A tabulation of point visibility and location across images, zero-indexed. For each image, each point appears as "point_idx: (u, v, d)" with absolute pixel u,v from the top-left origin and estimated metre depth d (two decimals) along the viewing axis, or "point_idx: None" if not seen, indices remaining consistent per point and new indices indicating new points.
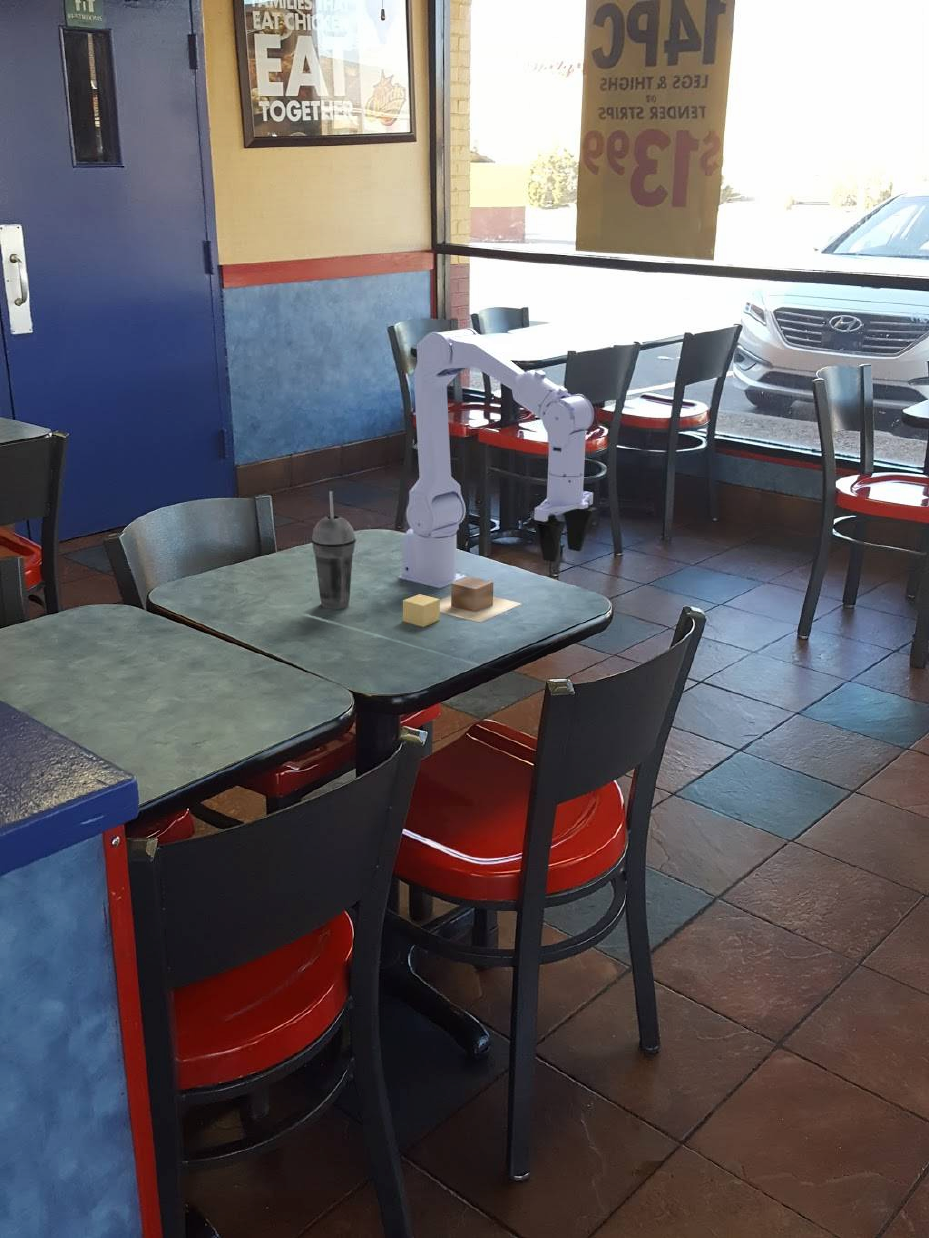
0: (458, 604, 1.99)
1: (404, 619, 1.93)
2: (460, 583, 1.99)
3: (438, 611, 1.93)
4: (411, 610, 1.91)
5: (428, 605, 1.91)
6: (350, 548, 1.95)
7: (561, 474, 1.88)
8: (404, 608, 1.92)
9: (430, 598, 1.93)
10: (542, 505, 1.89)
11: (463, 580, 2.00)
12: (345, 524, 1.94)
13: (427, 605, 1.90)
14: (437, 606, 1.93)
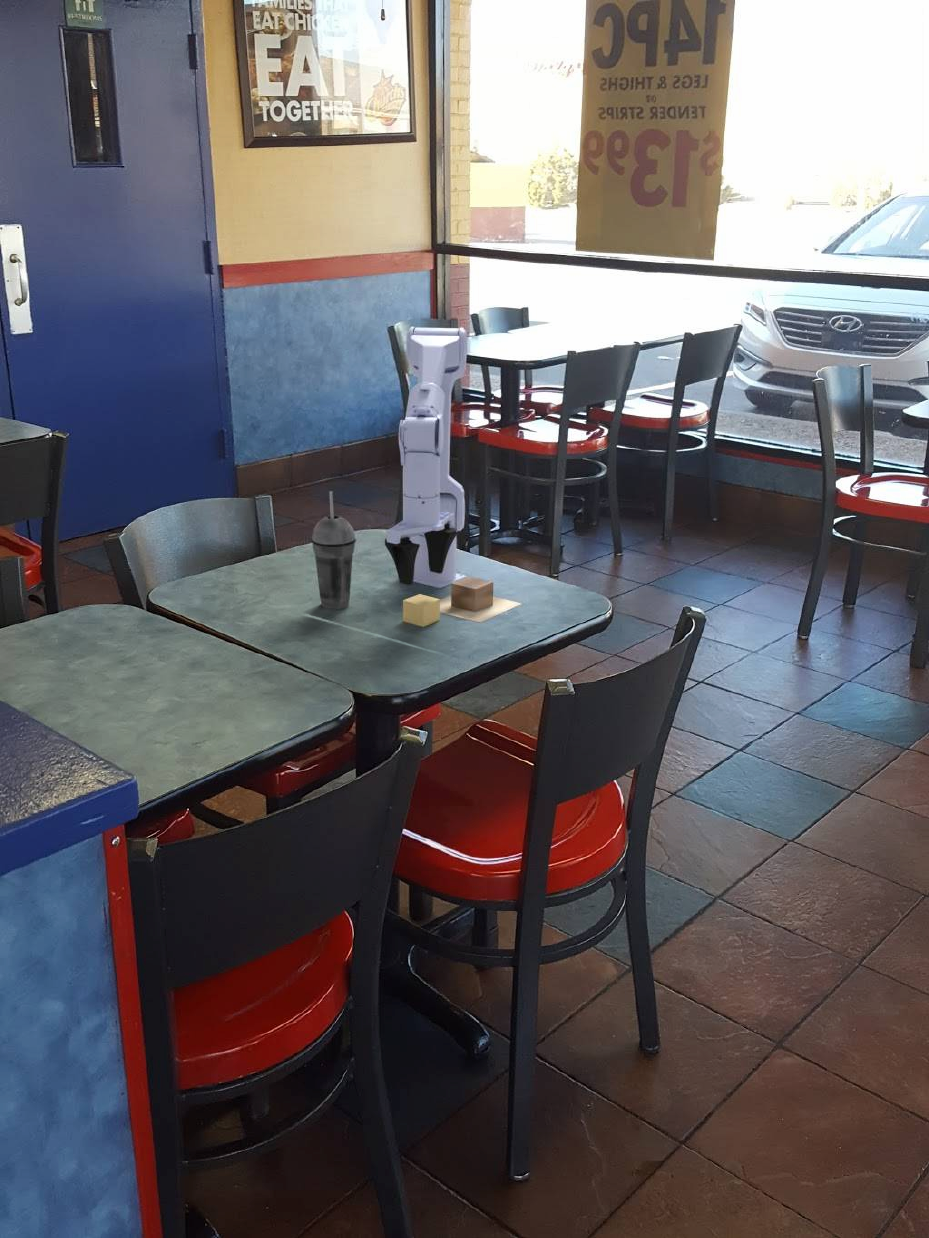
0: (458, 604, 1.99)
1: (404, 619, 1.93)
2: (460, 583, 1.99)
3: (438, 611, 1.93)
4: (411, 610, 1.91)
5: (428, 605, 1.91)
6: (350, 548, 1.95)
7: (403, 492, 1.86)
8: (404, 608, 1.92)
9: (430, 598, 1.93)
10: (396, 527, 1.85)
11: (463, 580, 2.00)
12: (345, 524, 1.94)
13: (427, 605, 1.90)
14: (437, 606, 1.93)
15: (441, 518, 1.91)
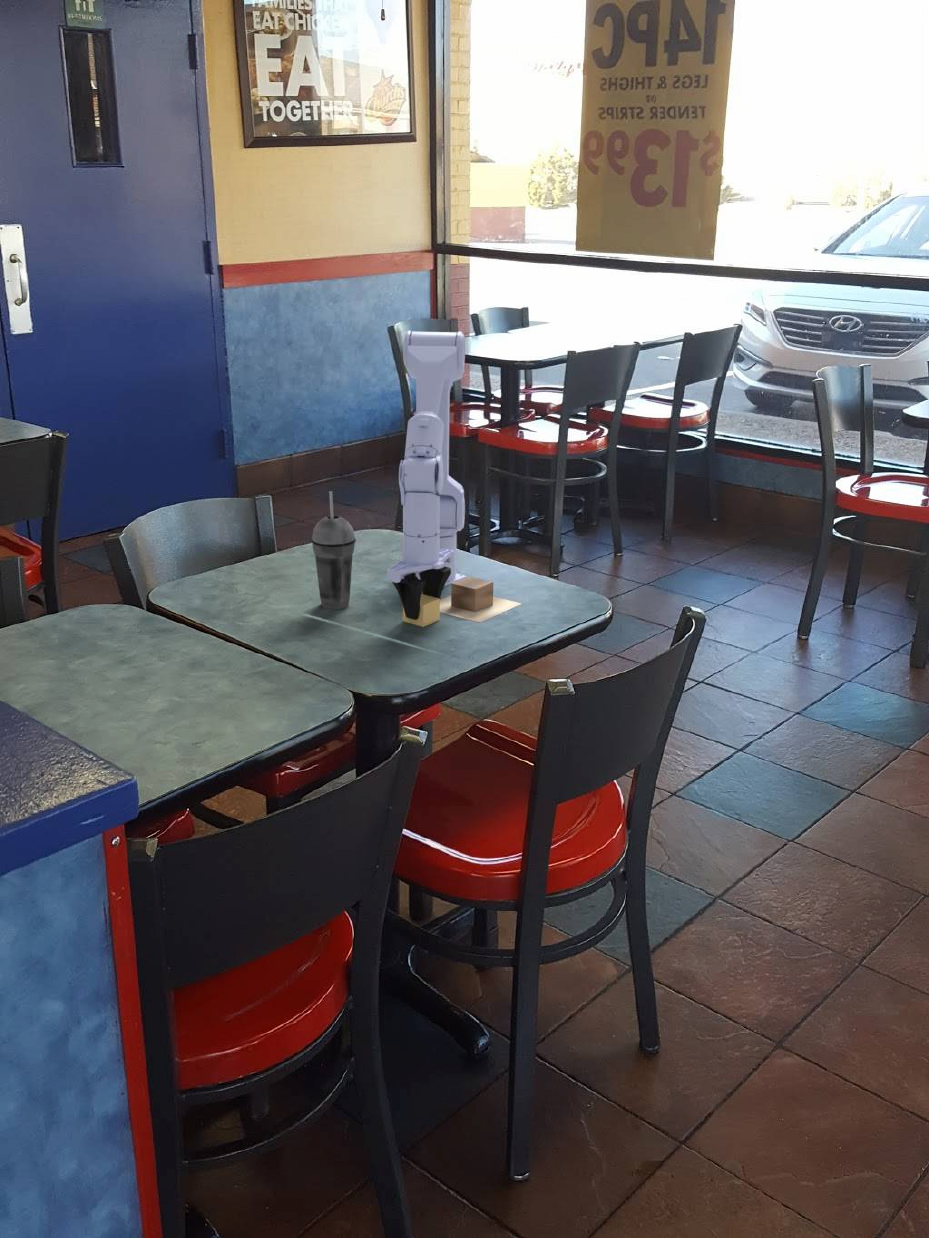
0: (458, 604, 1.99)
1: (404, 618, 1.93)
2: (460, 583, 1.99)
3: (438, 611, 1.93)
4: None
5: (428, 604, 1.91)
6: (350, 548, 1.95)
7: (403, 531, 1.88)
8: None
9: (430, 597, 1.93)
10: (396, 565, 1.87)
11: (463, 580, 2.00)
12: (345, 524, 1.94)
13: (427, 604, 1.90)
14: (437, 606, 1.93)
15: (441, 555, 1.93)
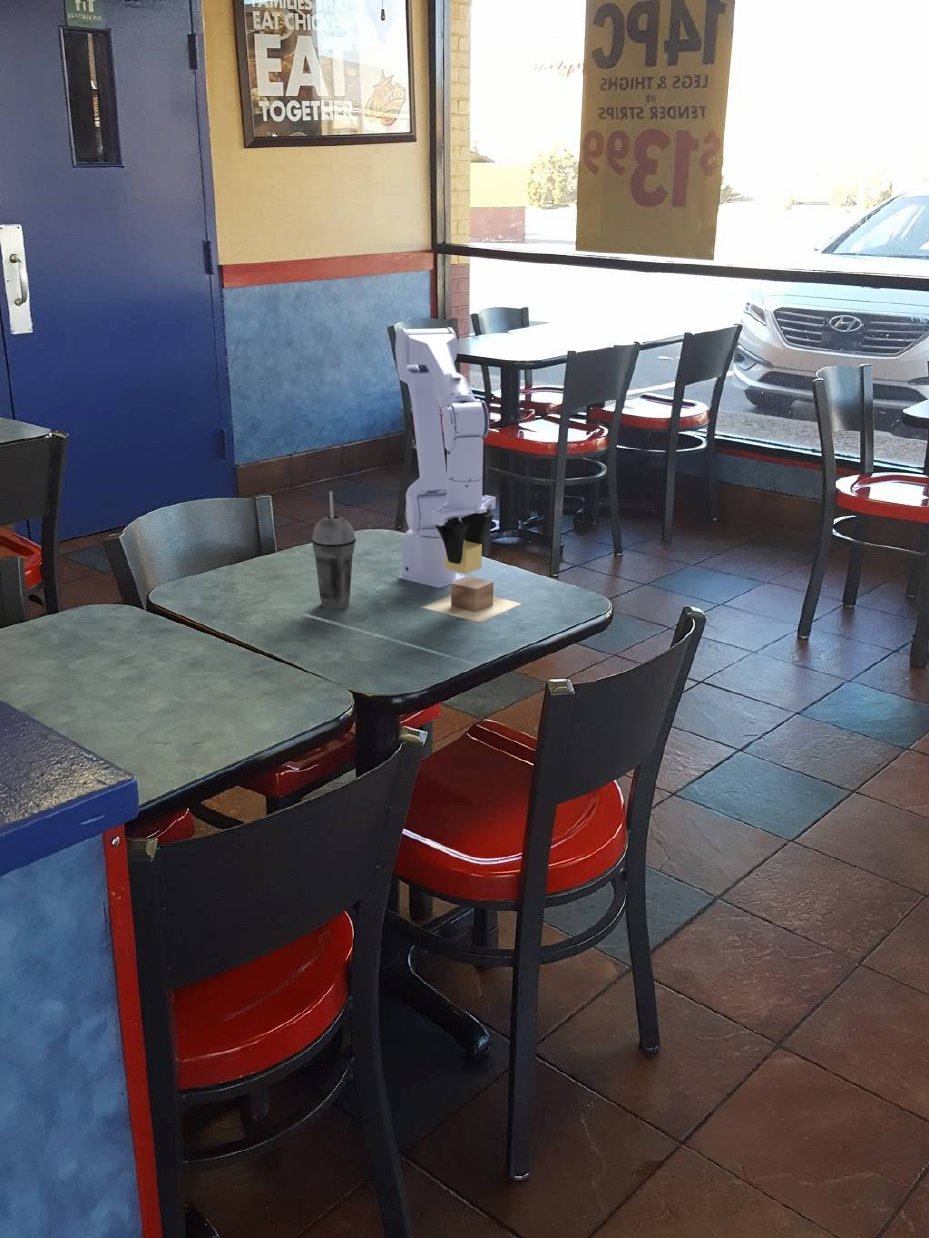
0: (458, 604, 1.99)
1: (447, 564, 1.96)
2: (460, 583, 1.99)
3: (480, 556, 1.97)
4: None
5: (470, 550, 1.94)
6: (350, 548, 1.95)
7: (450, 477, 1.90)
8: None
9: (472, 543, 1.96)
10: (440, 509, 1.91)
11: (463, 580, 2.00)
12: (345, 524, 1.94)
13: (470, 550, 1.94)
14: (479, 552, 1.96)
15: (483, 501, 1.97)
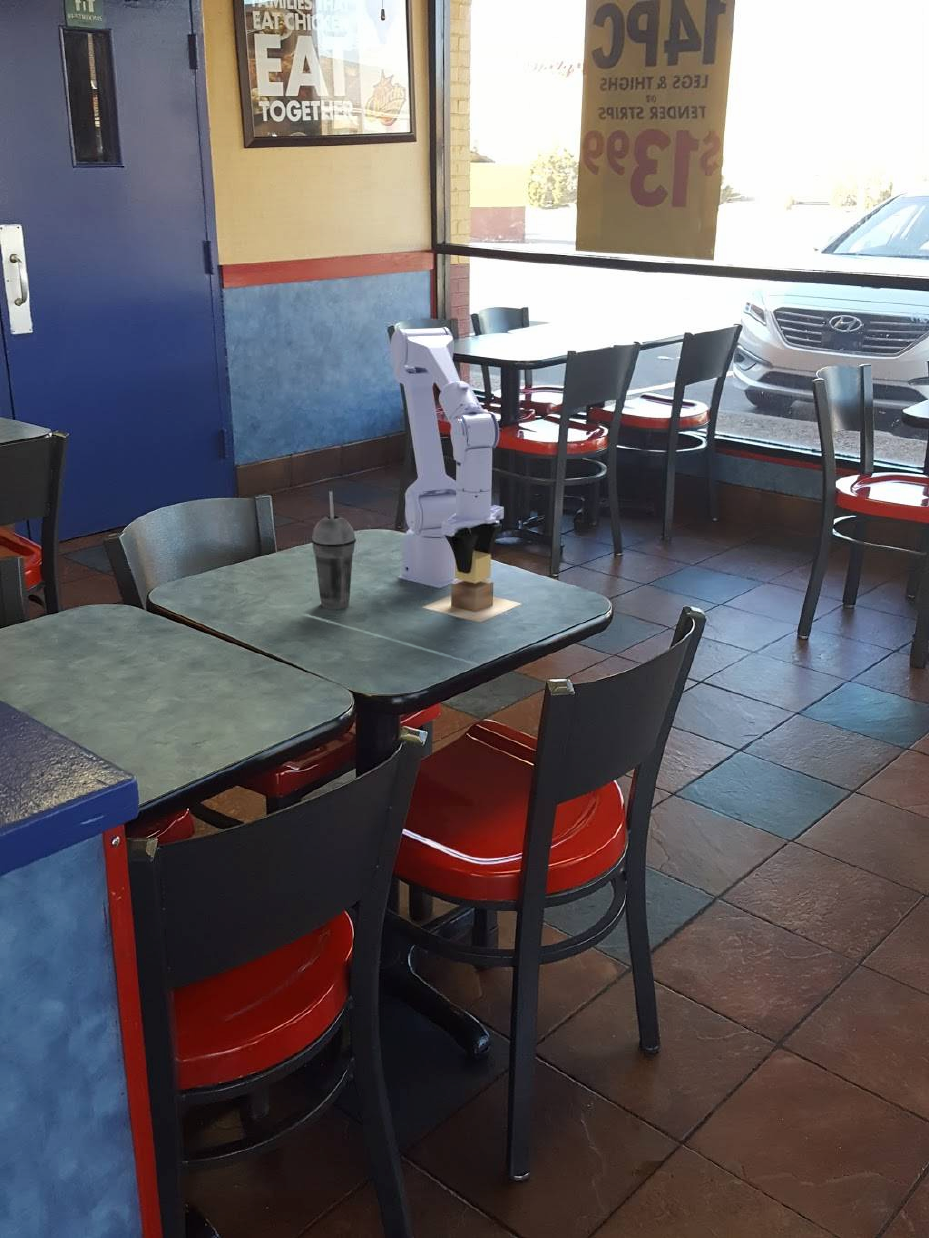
0: (458, 604, 1.99)
1: (456, 573, 1.98)
2: (460, 583, 1.99)
3: (489, 566, 1.99)
4: None
5: (480, 559, 1.96)
6: (350, 548, 1.95)
7: (461, 488, 1.92)
8: None
9: (481, 553, 1.98)
10: (450, 520, 1.93)
11: None
12: (345, 524, 1.94)
13: (479, 559, 1.96)
14: (488, 561, 1.98)
15: (491, 511, 1.99)
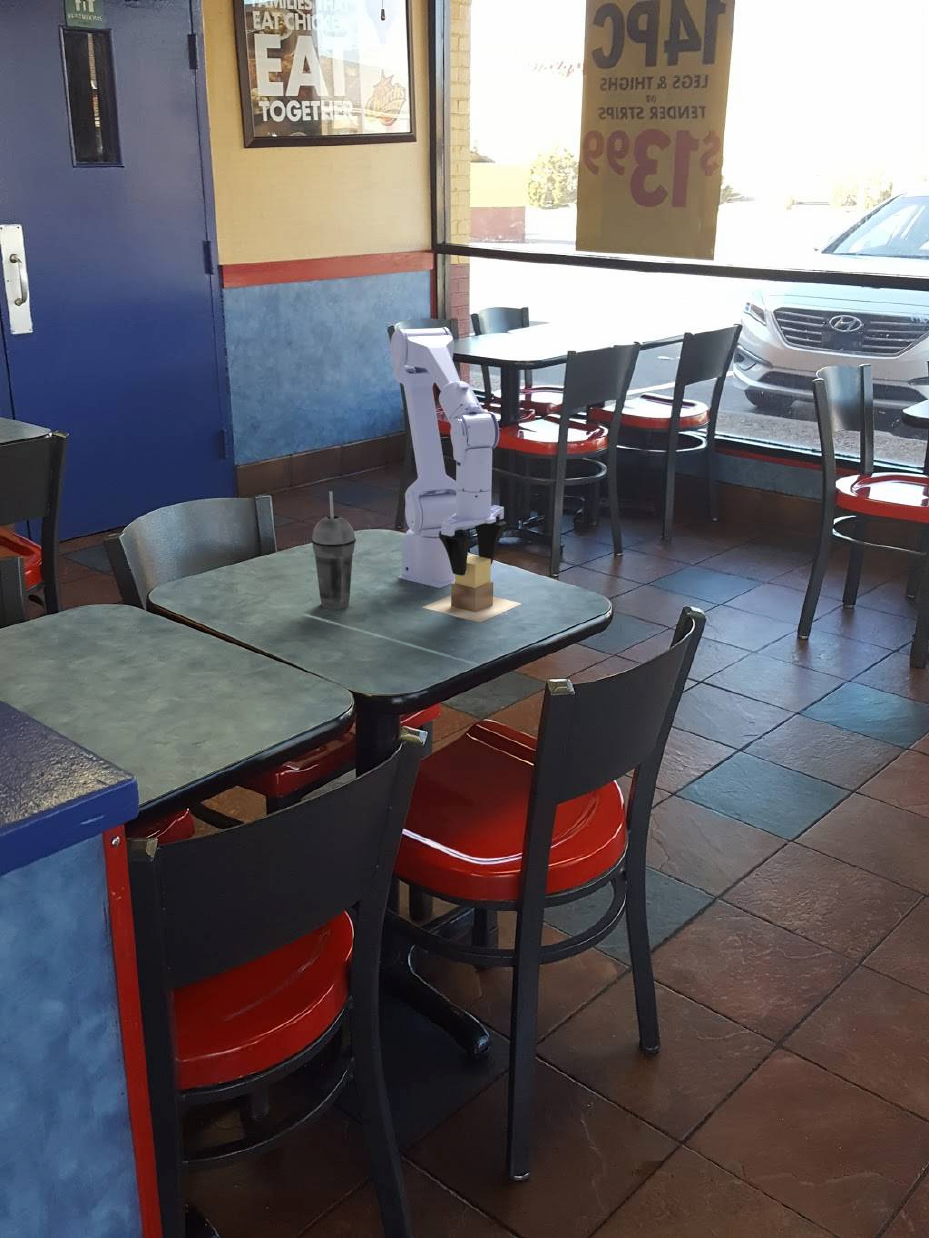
0: (458, 604, 1.99)
1: (456, 578, 1.98)
2: None
3: (489, 571, 1.99)
4: None
5: (479, 564, 1.96)
6: (350, 548, 1.95)
7: (461, 488, 1.92)
8: None
9: (481, 558, 1.99)
10: (450, 520, 1.93)
11: None
12: (345, 524, 1.94)
13: (479, 564, 1.96)
14: (488, 566, 1.98)
15: (492, 511, 1.99)
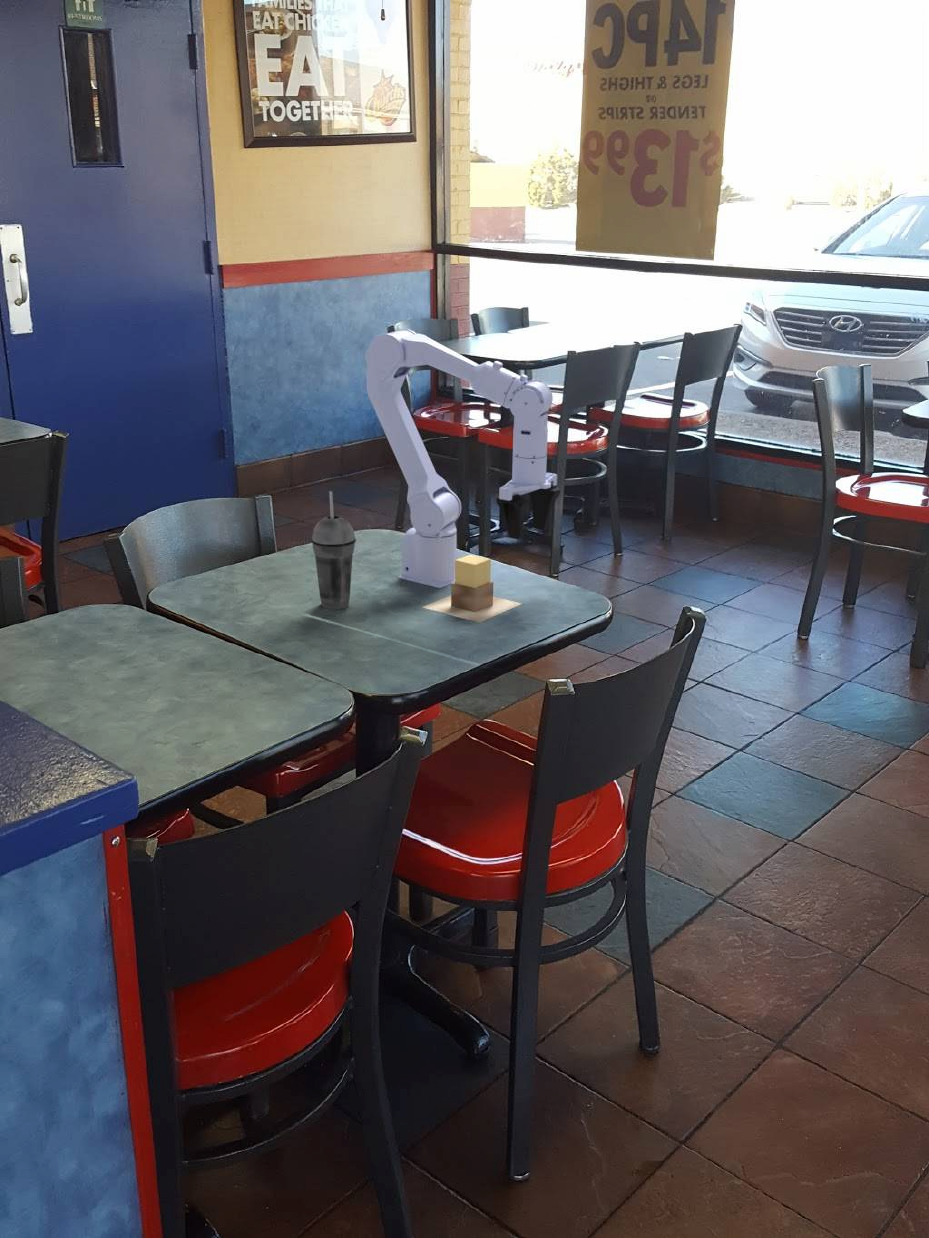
0: (458, 604, 1.99)
1: (456, 578, 1.98)
2: None
3: (489, 571, 1.99)
4: (463, 569, 1.97)
5: (479, 564, 1.96)
6: (350, 548, 1.95)
7: (530, 456, 1.99)
8: (456, 567, 1.98)
9: (481, 558, 1.99)
10: (507, 485, 2.00)
11: None
12: (345, 524, 1.94)
13: (479, 564, 1.96)
14: (488, 566, 1.98)
15: (546, 478, 2.06)
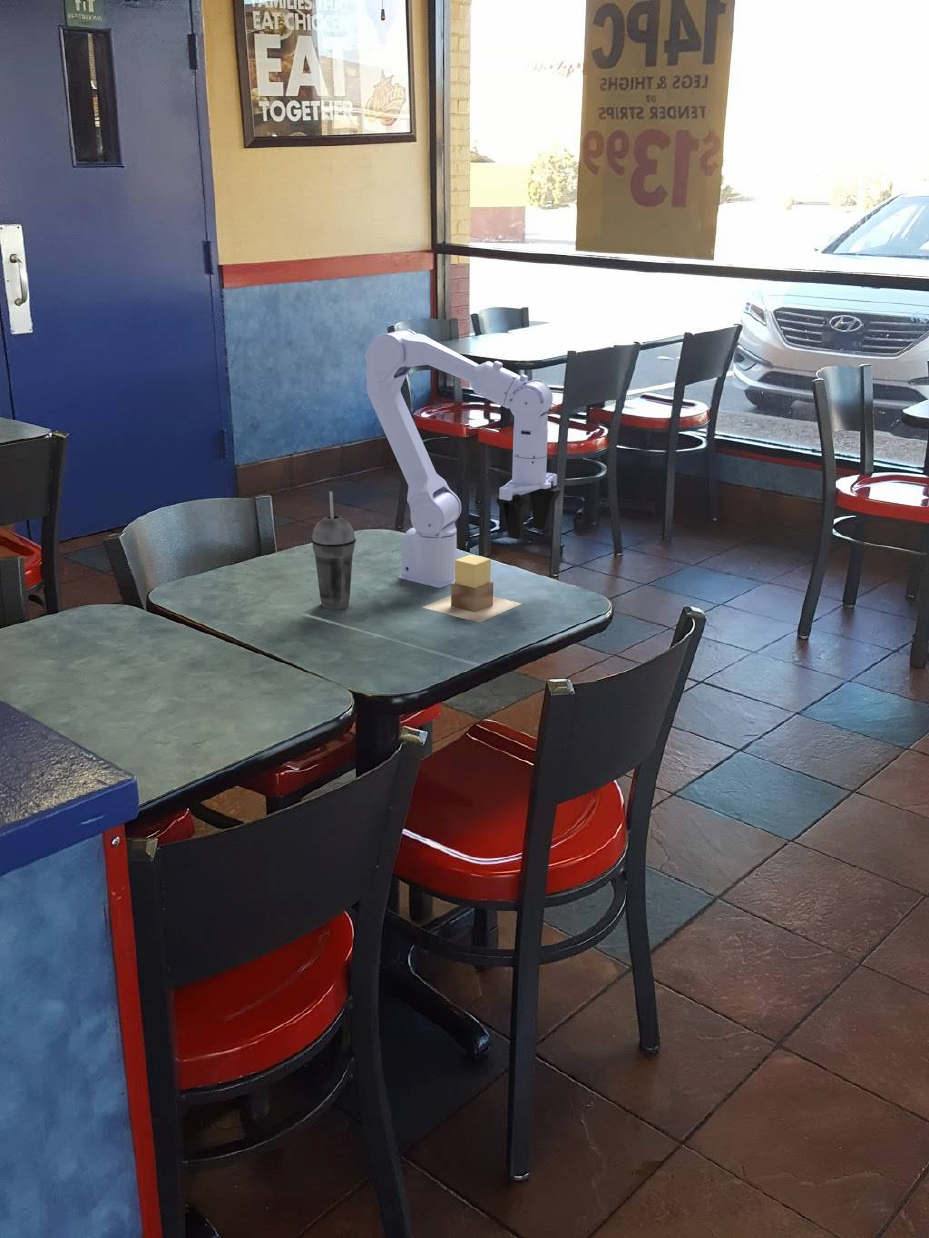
0: (458, 604, 1.99)
1: (456, 578, 1.98)
2: None
3: (489, 571, 1.99)
4: (463, 569, 1.97)
5: (479, 564, 1.96)
6: (350, 548, 1.95)
7: (531, 456, 1.99)
8: (456, 567, 1.98)
9: (481, 558, 1.99)
10: (507, 485, 2.00)
11: None
12: (345, 524, 1.94)
13: (479, 564, 1.96)
14: (488, 566, 1.98)
15: (546, 478, 2.06)
